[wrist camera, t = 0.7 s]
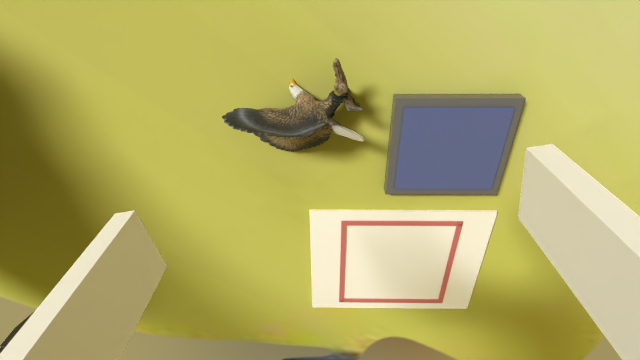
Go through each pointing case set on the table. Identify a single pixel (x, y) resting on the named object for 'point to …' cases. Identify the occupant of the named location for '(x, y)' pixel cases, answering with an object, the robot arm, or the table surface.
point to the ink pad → (450, 142)
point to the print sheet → (397, 257)
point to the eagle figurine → (299, 118)
